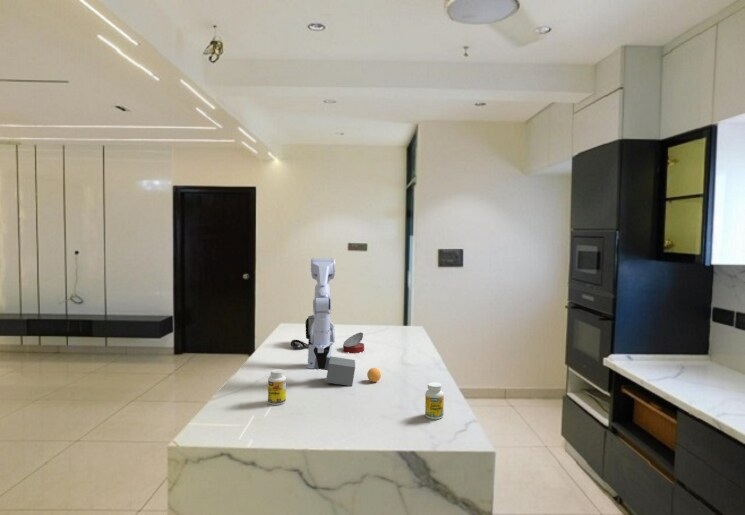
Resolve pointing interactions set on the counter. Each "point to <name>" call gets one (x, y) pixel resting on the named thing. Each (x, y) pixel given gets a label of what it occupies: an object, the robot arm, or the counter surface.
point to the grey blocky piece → (339, 370)
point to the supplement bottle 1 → (276, 387)
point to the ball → (374, 374)
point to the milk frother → (308, 328)
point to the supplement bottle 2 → (434, 401)
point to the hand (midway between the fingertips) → (321, 367)
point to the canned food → (354, 344)
